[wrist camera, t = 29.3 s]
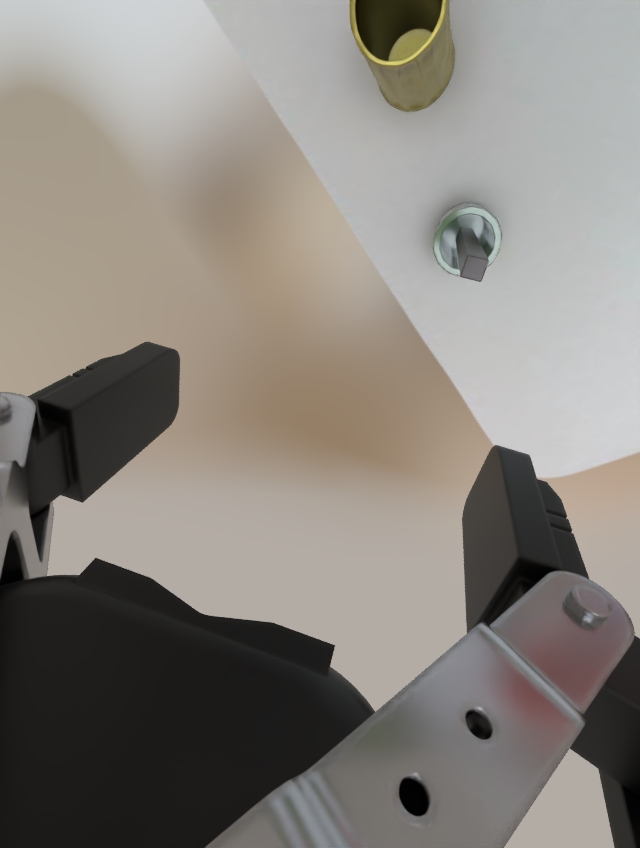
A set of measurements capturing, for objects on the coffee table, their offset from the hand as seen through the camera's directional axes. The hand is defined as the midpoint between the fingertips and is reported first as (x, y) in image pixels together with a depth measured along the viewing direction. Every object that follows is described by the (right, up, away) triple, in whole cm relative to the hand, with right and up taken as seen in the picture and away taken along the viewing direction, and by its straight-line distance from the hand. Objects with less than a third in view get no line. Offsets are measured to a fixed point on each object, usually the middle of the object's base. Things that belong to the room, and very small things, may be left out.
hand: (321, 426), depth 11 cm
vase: (+8, +29, +24) cm, 39 cm away
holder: (+13, +18, +29) cm, 36 cm away
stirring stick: (+13, +17, +29) cm, 36 cm away
